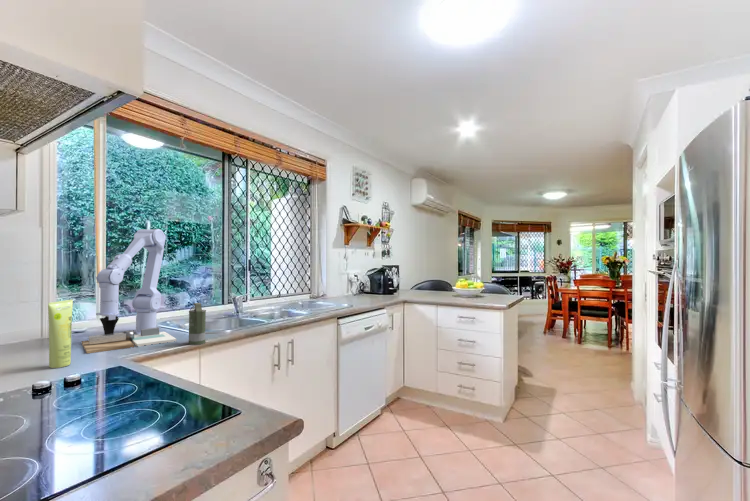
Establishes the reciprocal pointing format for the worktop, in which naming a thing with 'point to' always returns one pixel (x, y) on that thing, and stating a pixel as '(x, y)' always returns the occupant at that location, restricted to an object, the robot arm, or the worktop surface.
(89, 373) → the worktop surface
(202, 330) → the grenade
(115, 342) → the board
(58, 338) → the tube
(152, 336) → the door board
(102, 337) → the swing bar
